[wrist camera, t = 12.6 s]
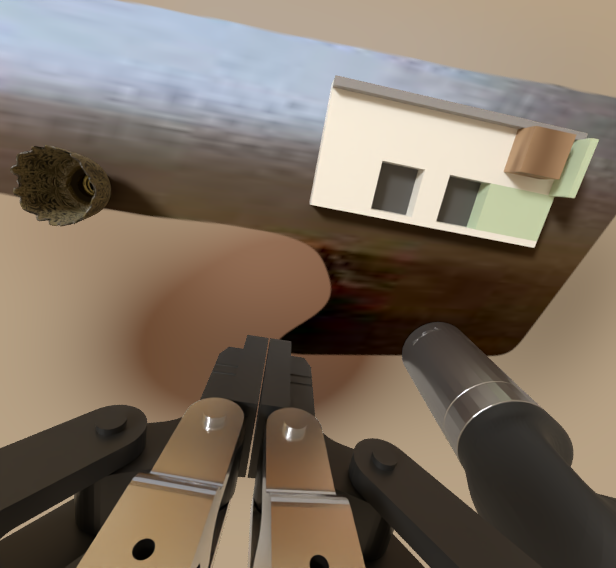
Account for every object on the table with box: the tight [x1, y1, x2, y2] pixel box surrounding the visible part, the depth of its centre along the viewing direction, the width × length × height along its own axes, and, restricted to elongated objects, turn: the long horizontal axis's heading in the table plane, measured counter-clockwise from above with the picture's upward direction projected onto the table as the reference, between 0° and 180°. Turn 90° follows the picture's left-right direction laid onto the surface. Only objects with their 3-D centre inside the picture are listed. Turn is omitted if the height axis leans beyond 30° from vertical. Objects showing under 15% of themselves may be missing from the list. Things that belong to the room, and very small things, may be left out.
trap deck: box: [310, 75, 599, 248], centre depth 38 cm, size 28×13×6 cm, turn 79°
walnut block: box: [504, 126, 576, 180], centre depth 37 cm, size 4×4×3 cm
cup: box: [10, 145, 111, 226], centre depth 36 cm, size 8×7×8 cm
